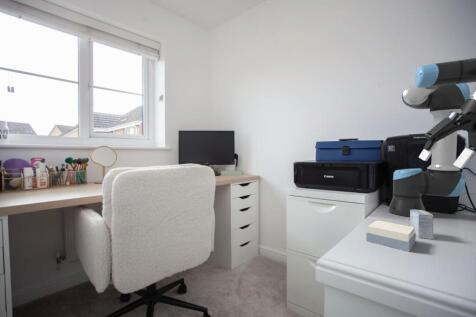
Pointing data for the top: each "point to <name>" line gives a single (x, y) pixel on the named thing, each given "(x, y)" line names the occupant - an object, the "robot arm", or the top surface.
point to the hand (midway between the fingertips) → (440, 163)
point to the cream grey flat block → (391, 235)
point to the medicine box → (422, 223)
